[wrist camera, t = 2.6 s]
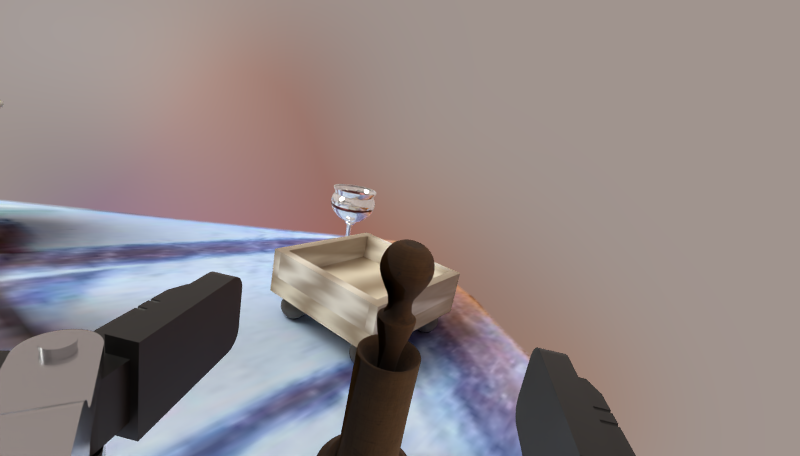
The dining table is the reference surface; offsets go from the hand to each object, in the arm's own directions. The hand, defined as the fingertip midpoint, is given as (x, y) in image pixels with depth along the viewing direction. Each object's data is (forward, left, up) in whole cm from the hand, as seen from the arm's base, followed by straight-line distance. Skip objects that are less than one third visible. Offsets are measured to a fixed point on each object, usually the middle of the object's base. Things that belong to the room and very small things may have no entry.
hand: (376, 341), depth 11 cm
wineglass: (-36, +38, -19) cm, 55 cm away
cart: (-21, +26, -19) cm, 38 cm away
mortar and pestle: (-6, +10, -19) cm, 22 cm away
